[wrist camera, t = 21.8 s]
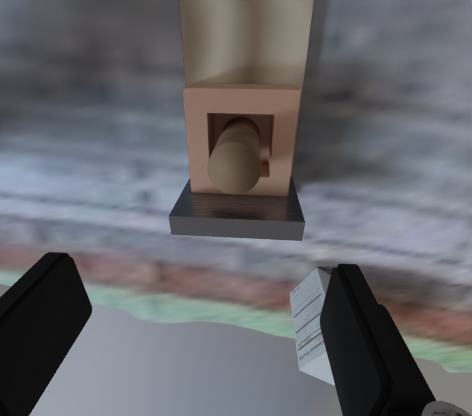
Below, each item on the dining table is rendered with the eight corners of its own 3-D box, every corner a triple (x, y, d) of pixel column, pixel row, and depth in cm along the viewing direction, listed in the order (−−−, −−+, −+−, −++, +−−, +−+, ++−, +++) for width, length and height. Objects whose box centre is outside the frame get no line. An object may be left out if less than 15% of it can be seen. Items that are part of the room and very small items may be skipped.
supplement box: (353, 285, 41) (388, 367, 30) (322, 310, 45) (343, 392, 34) (317, 264, 40) (339, 343, 29) (287, 292, 43) (297, 372, 32)
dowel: (222, 153, 29) (208, 193, 21) (222, 116, 27) (206, 142, 19) (258, 154, 29) (259, 195, 20) (260, 117, 27) (262, 144, 18)
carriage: (200, 174, 32) (191, 192, 27) (194, 82, 27) (182, 87, 22) (283, 177, 31) (287, 196, 27) (293, 84, 26) (300, 89, 22)
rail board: (196, 189, 35) (194, 195, 34) (173, -129, 21) (167, -141, 20) (287, 193, 34) (288, 198, 33) (327, -133, 20) (332, -146, 19)
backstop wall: (196, 183, 34) (171, 234, 24) (195, 168, 33) (168, 216, 23) (288, 186, 34) (301, 240, 24) (290, 171, 33) (305, 222, 23)
